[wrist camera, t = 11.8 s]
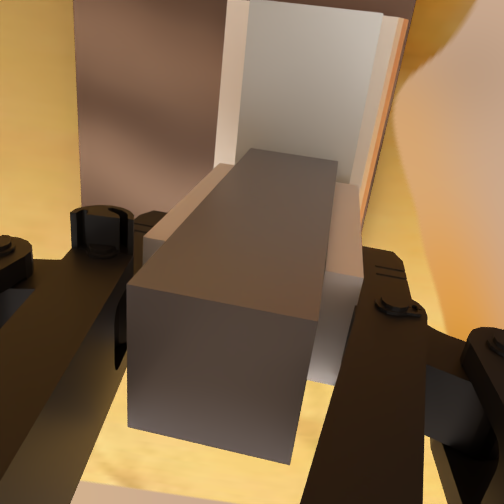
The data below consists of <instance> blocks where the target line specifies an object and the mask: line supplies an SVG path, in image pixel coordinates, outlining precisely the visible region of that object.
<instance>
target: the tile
mask: <svg viewBox="0 0 504 504" xmlns="http://www.w3.org/2000/svg"><path fill="white" fill-rule="evenodd" d="M249 3H250V1H247V0H227V11H226V23H225V35H224V47H223V59H222V72H221V84H220V96H219V108H218V120H217V132H216V144H215V156H214V168H215V167H216V166H217V165H218V164H219V163H224V164H230V165H235V156H236V145H237V134H238V123H239V112H240V101H241V90H242V80H243V69H244V58H245V47H246V36H247V25H248V14H249ZM408 21H409V20H407V19H404V18H400V17H392V16H383V18H382V23H381V28H380V33H379V38H378V43H377V48H376V53H375V58H374V63H373V68H372V73H371V78H370V83H369V88H368V93H367V98H366V103H365V108H364V113H363V118H362V123H361V128H360V133H359V138H358V143H357V148H356V153H355V158H354V163H353V168H352V173H351V178H350V183H349V184H352V185H358V187H359V205H360V222H361V223H362V219H363V215H364V210H365V206H366V202H367V197H368V193H369V189H370V184H371V180H372V176H373V172H374V167H375V163H376V159H377V154H378V150H379V146H380V141H381V137H382V133H383V129H384V124H385V120H386V116H387V111H388V107H389V103H390V98H391V94H392V90H393V86H394V81H395V77H396V73H397V68H398V64H399V60H400V55H401V51H402V47H403V43H404V38H405V34H406V30H407V25H408ZM214 168H213V169H214Z"/></svg>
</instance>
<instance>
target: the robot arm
mask: <svg viewBox="0 0 504 504" xmlns="http://www.w3.org/2000/svg"><path fill="white" fill-rule="evenodd" d="M234 166H235V165H230V164H224V163H219V164H218V165H217V166H216V167H215V168H214V169H213V170H212V171H211V172H210V173H209V174H208V175H207V176H206V177H205V178H204V179H202V180H201V181H200V182H199V183H198V184H197V185H196V186H195V187H194V188H193V189H192V190H191V191H190V192H189V193H188V194H187V195H186V196H185V197H184V198H183V199H182V200H181V201H180V202H179V203H178V204H177V205H176V206H174V207H173V208H172V209H171V210H170V211H169V212H168V213H166V212H161V211H155V210H153V211H150V212H147V213H144V214H141V215H139V216H138V217H136V218H135V219H134V214H133V213H132V212H131V211H129V210H127V209H124V208H122V207H117V206H112V205H91V206H85V207H81V208H77V209H75V210H73V211H72V212H70V220H71V241H72V249H71V250H70V251H69V252H68V253H67V254H66V255H65V256H64V258H63V259H62V260H45V259H33V254H32V245H31V244H30V243H29V242H28V241H26V240H24V239H21V238H18V237H11V236H9V235H2V236H0V504H70V503H71V500H72V498H73V495H74V493H75V491H76V488H77V486H78V483H79V481H80V479H81V476H82V474H83V471H84V469H85V467H86V464H87V462H88V459H89V457H90V454H91V452H92V450H93V447H94V445H95V442H96V440H97V438H98V435H99V433H100V430H101V428H102V426H103V423H104V421H105V418H106V416H107V413H108V411H109V409H110V406H111V404H112V401H113V399H114V397H115V394H116V392H117V389H118V387H119V385H120V382H121V380H122V377H123V375H124V372H125V370H126V368H127V289H126V284H127V283H128V282H129V281H130V280H131V279H132V277H133V276H134V275H135V274H136V273H137V272H138V271H139V270H140V269H141V268H142V266H143V265H144V264H145V263H146V262H147V261H148V260H149V259H150V258H151V257H152V255H153V254H154V253H155V252H156V251H157V250H158V249H159V248H160V247H161V246H162V245H163V243H164V242H165V241H166V240H167V239H168V238H169V237H170V236H171V235H172V234H173V232H174V231H175V230H176V229H177V228H178V227H179V226H180V225H181V224H182V223H183V222H184V220H185V219H186V218H187V217H188V216H189V215H190V214H191V213H192V212H193V211H194V209H195V208H196V207H197V206H198V205H199V204H200V203H201V202H202V201H203V200H204V199H205V197H206V196H207V195H208V194H209V193H210V192H211V191H212V190H213V189H214V188H215V186H216V185H217V184H218V183H219V182H220V181H221V180H222V179H223V178H224V177H225V176H226V174H227V173H228V172H229V171H230V170H231V169H232V168H233V167H234ZM406 279H407V278H406V273H405V269H404V265H403V261H402V260H401V259H400V258H399V257H398V256H397V255H396V254H395V253H394V252H391V251H386V250H380V249H375V248H369V247H364V246H362V239H361V222H360V205H359V187H358V185H352V184H346V183H340V182H336V184H335V191H334V199H333V207H332V215H331V223H330V231H329V239H328V247H327V255H326V263H325V271H324V279H323V287H322V295H321V303H320V311H319V319H318V325H317V330H316V335H315V340H314V345H313V350H312V355H311V360H310V365H309V371H308V376H307V380H310V381H315V382H320V383H324V384H329V385H334V386H335V387H334V390H333V394H332V397H331V400H330V404H329V407H328V411H327V414H326V417H325V421H324V424H323V428H322V431H321V434H320V438H319V441H318V444H317V448H316V451H315V455H314V458H313V461H312V465H311V468H310V471H309V475H308V478H307V482H306V485H305V488H304V492H303V495H302V499H301V502H300V504H423V467H424V435H426V436H428V437H430V445H431V450H432V454H433V457H434V460H435V463H436V467H437V470H438V473H439V477H440V480H441V483H442V486H443V490H444V493H445V496H446V500H447V503H448V504H504V330H502V329H498V328H493V327H480V328H476V329H473V330H472V331H471V333H470V334H469V336H468V338H467V341H466V342H465V341H462V340H459V339H456V338H454V337H451V336H449V335H446V334H444V333H442V332H439V331H437V330H435V329H434V328H432V327H430V326H428V325H427V314H426V311H425V309H424V308H423V307H422V306H421V305H420V304H419V303H417V302H416V301H414V300H412V299H411V295H410V290H409V286H408V282H407V280H406Z"/></svg>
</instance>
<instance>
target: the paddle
mask: <svg viewBox="0 0 504 504" xmlns="http://www.w3.org/2000/svg"><path fill="white" fill-rule="evenodd" d="M382 18H383V13H377V12H368V11H359V10H350V9H341V8H332V7H323V6H314V5H305V4H295V3H286V2H277V1H268V0H250V3H249V14H248V25H247V36H246V47H245V58H244V69H243V80H242V90H241V101H240V112H239V123H238V134H237V145H236V156H235V166H234V167H233V168H232V169H231V170H230V171H229V172H228V173H227V174H226V176H225V177H224V178H223V179H222V180H221V181H220V182H219V183H218V184H217V185H216V186H215V188H214V189H213V190H212V191H211V192H210V193H209V194H208V195H207V196H206V197H205V199H204V200H203V201H202V202H201V203H200V204H199V205H198V206H197V207H196V208H195V209H194V211H193V212H192V213H191V214H190V215H189V216H188V217H187V218H186V219H185V220H184V222H183V223H182V224H181V225H180V226H179V227H178V228H177V229H176V230H175V231H174V232H173V234H172V235H171V236H170V237H169V238H168V239H167V240H166V241H165V242H164V243H163V245H162V246H161V247H160V248H159V249H158V250H157V251H156V252H155V253H154V254H153V255H152V257H151V258H150V259H149V260H148V261H147V262H146V263H145V264H144V265H143V266H142V268H141V269H140V270H139V271H138V272H137V273H136V274H135V275H134V276H133V277H132V279H131V280H130V281H129V282H128V283H127V284H126V289H127V412H128V427H130V428H134V429H139V430H143V431H147V432H151V433H156V434H160V435H164V436H168V437H172V438H177V439H181V440H185V441H189V442H194V443H198V444H202V445H206V446H211V447H215V448H219V449H223V450H228V451H232V452H236V453H240V454H245V455H249V456H253V457H257V458H261V459H266V460H270V461H274V462H278V463H283V464H287V465H290V462H291V457H292V452H293V447H294V442H295V437H296V431H297V426H298V421H299V416H300V411H301V406H302V401H303V396H304V391H305V386H306V381H307V376H308V371H309V365H310V360H311V355H312V350H313V345H314V340H315V335H316V330H317V325H318V319H319V311H320V303H321V295H322V287H323V279H324V271H325V263H326V255H327V247H328V239H329V231H330V223H331V215H332V207H333V199H334V191H335V184H336V182H340V183H346V184H349V183H350V178H351V173H352V168H353V163H354V158H355V153H356V148H357V143H358V138H359V133H360V128H361V123H362V118H363V113H364V108H365V103H366V98H367V93H368V88H369V83H370V78H371V73H372V68H373V63H374V58H375V53H376V48H377V43H378V38H379V33H380V28H381V23H382Z"/></svg>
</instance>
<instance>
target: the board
mask: <svg viewBox="0 0 504 504" xmlns="http://www.w3.org/2000/svg"><path fill="white" fill-rule="evenodd" d="M247 1H250V0H247ZM268 1H277V2H286V3H295V4H305V5H314V6H323V7H332V8H341V9H350V10H359V11H368V12H377V13H383V16H392V17H400V18H404V19H407V20H409V21H408V25H407V30H406V34H405V38H404V43H403V47H402V51H401V55H400V60H399V64H398V68H397V73H396V77H395V81H394V86H393V90H392V94H391V98H390V103H389V107H388V111H387V116H386V120H385V124H384V129H383V133H382V137H381V141H380V146H379V150H378V154H377V159H376V163H375V167H374V172H373V176H372V180H371V184H370V189H369V193H368V197H367V202H366V206H365V210H364V215H363V219H362V223H361V232H362V228H363V224H364V220H365V215H366V211H367V207H368V203H369V198H370V194H371V190H372V186H373V181H374V177H375V173H376V168H377V164H378V160H379V156H380V151H381V147H382V143H383V139H384V134H385V130H386V126H387V122H388V117H389V113H390V109H391V105H392V100H393V96H394V92H395V88H396V83H397V79H398V75H399V71H400V66H401V62H402V58H403V53H404V49H405V45H406V41H407V36H408V32H409V28H410V24H411V19H412V15H413V11H414V7H415V2H416V0H268ZM73 10H74V34H75V58H76V82H77V106H78V130H79V154H80V178H81V202H82V207H85V206H91V205H112V206H117V207H122V208H124V209H127V210H129V211H131V212H132V213H133V214H134V219H135V218H136V217H138V216H139V215H141V214H144V213H147V212H150V211H153V210H155V211H161V212H166V213H168V212H169V211H170V210H171V209H172V208H173V207H174V206H176V205H177V204H178V203H179V202H180V201H181V200H182V199H183V198H184V197H185V196H186V195H187V194H188V193H189V192H190V191H191V190H192V189H193V188H194V187H195V186H196V185H197V184H198V183H199V182H200V181H201V180H202V179H204V178H205V177H206V176H207V175H208V174H209V173H210V172H211V171H212V170H213V168H214V156H215V144H216V132H217V120H218V108H219V96H220V84H221V72H222V59H223V47H224V35H225V23H226V11H227V0H73Z"/></svg>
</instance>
